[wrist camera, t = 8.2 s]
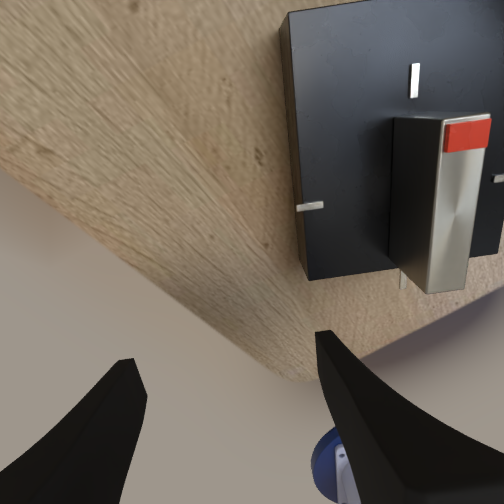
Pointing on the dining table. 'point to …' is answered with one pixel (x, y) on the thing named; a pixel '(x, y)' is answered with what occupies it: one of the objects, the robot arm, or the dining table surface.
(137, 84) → the dining table surface
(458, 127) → the red-topped metal block
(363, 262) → the switch base
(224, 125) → the dining table surface
